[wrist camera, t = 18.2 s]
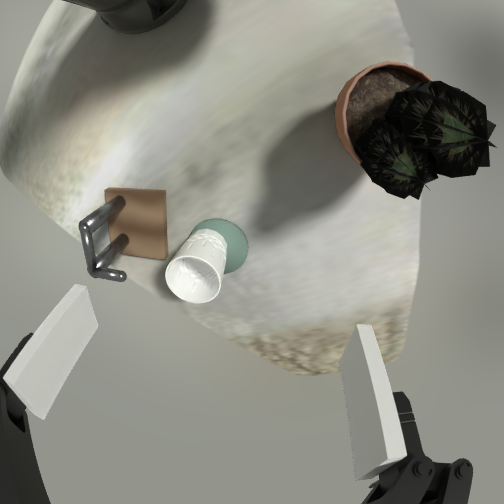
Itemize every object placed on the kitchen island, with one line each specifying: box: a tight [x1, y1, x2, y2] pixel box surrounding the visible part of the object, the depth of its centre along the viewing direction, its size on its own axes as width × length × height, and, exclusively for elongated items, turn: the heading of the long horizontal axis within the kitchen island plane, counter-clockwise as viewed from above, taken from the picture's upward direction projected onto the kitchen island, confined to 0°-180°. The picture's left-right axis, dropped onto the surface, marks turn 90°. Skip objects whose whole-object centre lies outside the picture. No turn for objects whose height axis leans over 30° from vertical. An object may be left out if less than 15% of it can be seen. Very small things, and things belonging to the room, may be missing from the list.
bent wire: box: [79, 195, 129, 282], centre depth 39 cm, size 9×7×11 cm
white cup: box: [165, 229, 227, 303], centre depth 42 cm, size 8×8×10 cm
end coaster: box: [190, 219, 248, 274], centre depth 46 cm, size 10×10×1 cm
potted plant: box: [335, 61, 496, 200], centre depth 24 cm, size 14×14×25 cm
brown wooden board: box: [105, 188, 168, 260], centre depth 45 cm, size 12×11×2 cm
